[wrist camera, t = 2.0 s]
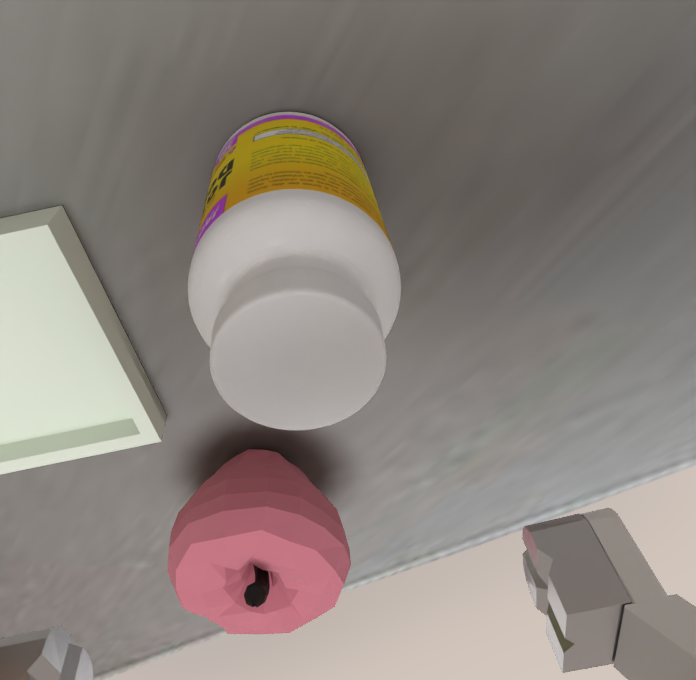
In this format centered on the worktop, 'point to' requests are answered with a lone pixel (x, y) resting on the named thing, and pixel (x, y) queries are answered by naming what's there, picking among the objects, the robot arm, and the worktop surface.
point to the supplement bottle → (293, 275)
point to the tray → (63, 353)
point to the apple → (258, 547)
